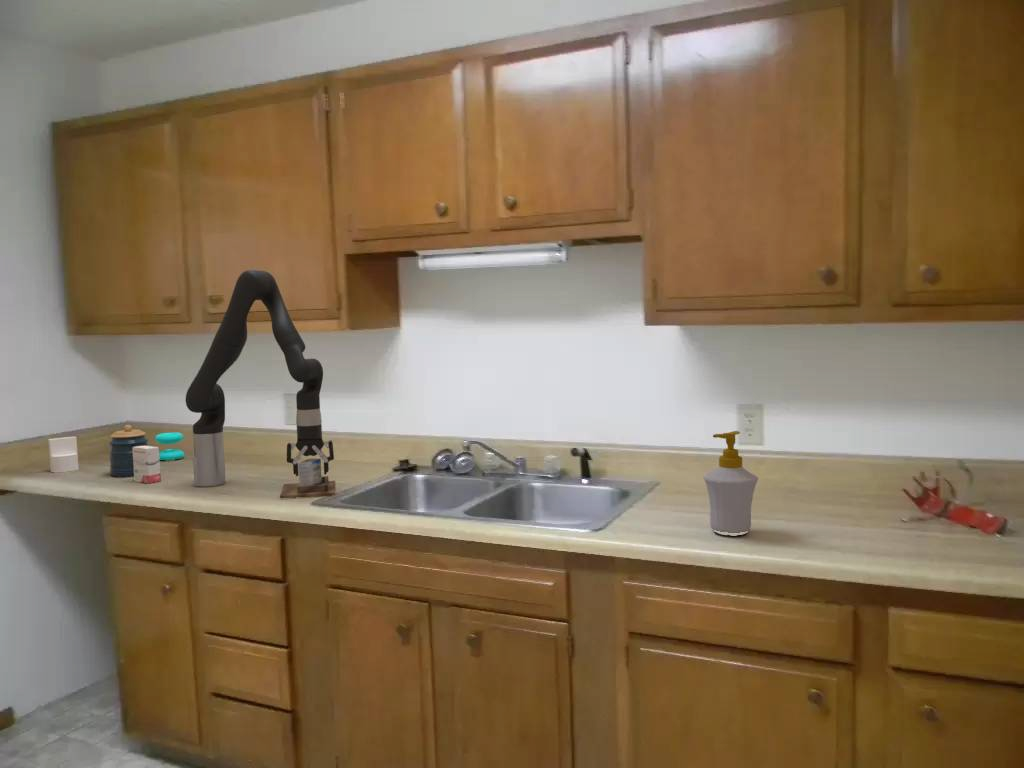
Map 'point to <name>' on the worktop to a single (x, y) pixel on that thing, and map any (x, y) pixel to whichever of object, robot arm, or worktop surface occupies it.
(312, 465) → the medicine box
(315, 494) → the holder board
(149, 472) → the ink box
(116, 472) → the canister
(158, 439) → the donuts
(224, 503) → the worktop surface
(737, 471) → the soap bottle
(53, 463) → the base with upright slab
